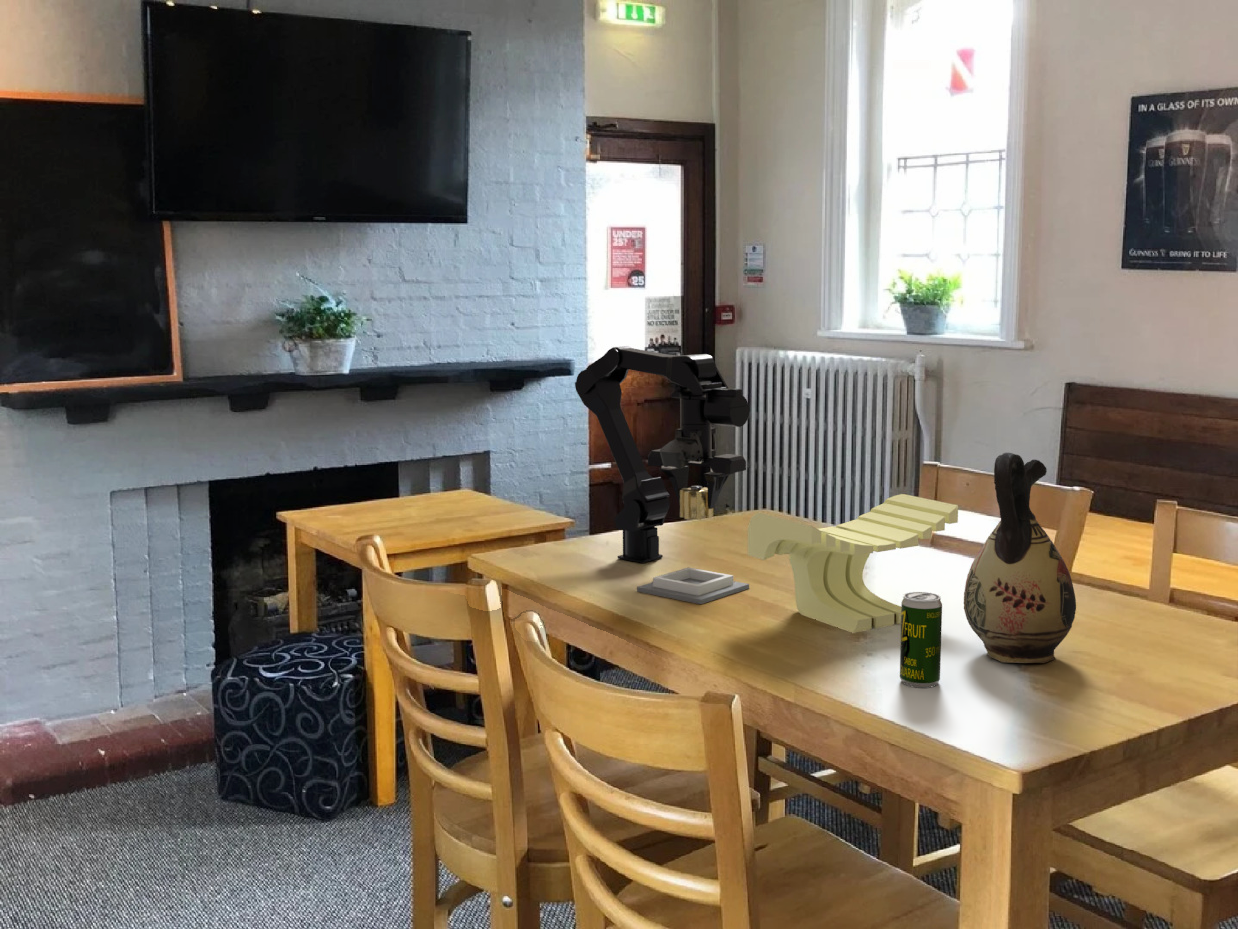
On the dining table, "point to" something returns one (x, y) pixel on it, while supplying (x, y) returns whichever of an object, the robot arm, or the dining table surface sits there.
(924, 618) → the green soda can
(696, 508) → the gear
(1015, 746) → the dining table surface
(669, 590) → the carrier plate
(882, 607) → the slatted curved stool
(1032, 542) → the ceramic jug
